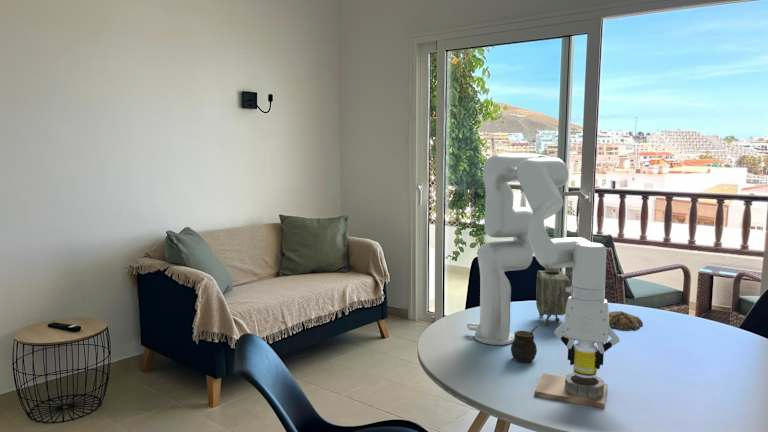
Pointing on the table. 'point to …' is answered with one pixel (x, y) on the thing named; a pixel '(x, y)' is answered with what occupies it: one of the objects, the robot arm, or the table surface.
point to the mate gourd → (524, 346)
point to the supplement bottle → (585, 359)
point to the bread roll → (624, 321)
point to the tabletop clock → (551, 293)
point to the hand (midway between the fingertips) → (585, 364)
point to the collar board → (561, 394)
